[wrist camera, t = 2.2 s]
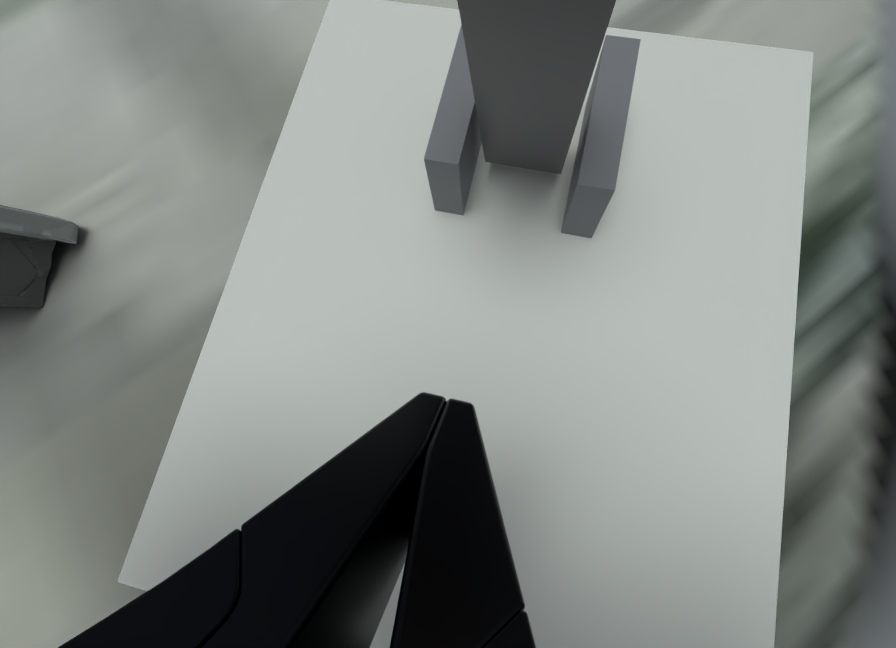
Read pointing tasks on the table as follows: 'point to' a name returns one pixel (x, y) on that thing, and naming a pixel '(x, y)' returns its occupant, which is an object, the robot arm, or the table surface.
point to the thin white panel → (524, 321)
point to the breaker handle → (531, 74)
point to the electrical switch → (28, 254)
